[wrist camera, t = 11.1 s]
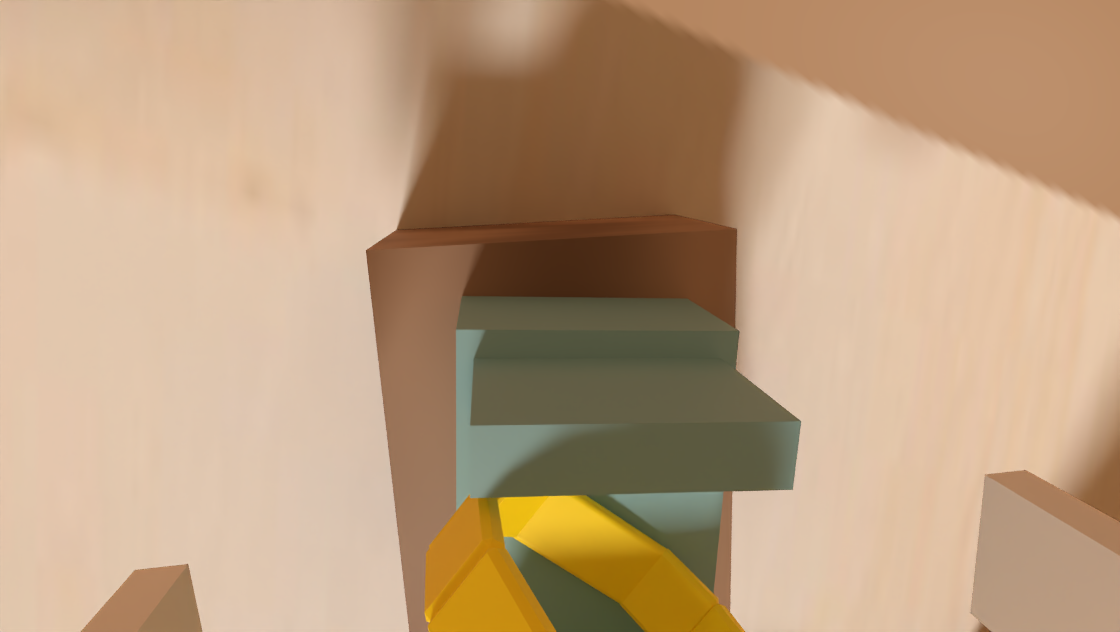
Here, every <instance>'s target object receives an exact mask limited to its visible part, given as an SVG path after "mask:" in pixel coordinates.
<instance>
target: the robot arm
mask: <svg viewBox="0 0 1120 632" xmlns="http://www.w3.org/2000/svg"><path fill="white" fill-rule="evenodd" d="M971 614H972V615H973V616H974V617H976V618H977V619H978V620H979V621H980V622H981V623H982V624H983V625H984V626H986V627H987V628H988V629H989V630H990V631H991V632H1120V522H1119V521H1117V520H1116V519H1114V518H1112V517H1110V516H1108V515H1106V514H1105V513H1103V512H1101V511H1099V510H1097V509H1096V508H1094V507H1092V506H1090V505H1088V504H1086V503H1085V502H1083V501H1081V500H1079V499H1077V498H1075V497H1074V496H1072V495H1070V494H1068V493H1066V492H1065V491H1063V490H1061V489H1059V488H1057V487H1055V486H1054V485H1052V484H1050V483H1048V482H1046V481H1044V480H1043V479H1041V478H1039V477H1037V476H1035V475H1034V474H1032V473H1030V472H1028V471H1026V470H1023V471H1014V472H1005V473H996V474H987V475H985V480H984V490H983V499H982V509H981V518H980V528H979V537H978V547H977V556H976V566H975V575H974V585H973V594H972V604H971ZM81 632H202V628H201V623H200V618H199V613H198V609H197V604H196V599H195V594H194V590H193V585H192V580H191V575H190V570H189V566H188V564H185V565H176V566H167V567H158V568H149V569H141V570H135V571H134V572H133V573H132V574H131V575H130V576H129V577H128V579H127V580H126V581H125V582H124V583H123V584H122V585H121V587H120V588H119V589H118V590H117V591H116V592H115V593H114V595H113V596H112V597H111V598H110V599H109V600H108V601H107V602H106V604H105V605H104V606H103V607H102V608H101V609H100V610H99V612H98V613H97V614H96V615H95V616H94V617H93V618H92V620H91V621H90V622H89V623H88V624H87V625H86V626H85V628H84V629H83V630H82V631H81Z"/></svg>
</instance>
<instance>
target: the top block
mask: <svg viewBox="0 0 1120 632" xmlns="http://www.w3.org/2000/svg"><path fill="white" fill-rule="evenodd" d="M738 339H739V331H738V330H737V329H735V328H734V327H732V326H730V325H729V324H727V323H726V322H724V321H722V320H721V319H719V318H718V317H716V316H714V315H713V314H711V313H710V312H708V311H706V310H705V309H703V308H702V307H700V306H698V305H697V304H695V303H694V302H692V301H690V300H689V299H681V298H591V297H502V296H462V298H461V304H460V310H459V315H458V321H457V327H456V511H457V510H458V508H459V507H460V506H461V505H462V503H463V502H464V501H465V499H466V498H467V497H468V496H469V494H470V498H498V497H535V496H573V495H586V496H588V497H589V498H591V499H592V500H594V501H595V502H597V503H598V504H600V505H601V506H603V507H604V508H606V509H607V510H609V511H610V512H612V513H613V514H615V515H617V516H618V517H620V518H621V519H623V520H624V521H626V522H627V523H629V524H630V525H632V526H633V527H635V528H636V529H638V530H639V531H641V532H642V533H644V534H645V535H647V536H648V537H650V538H651V539H653V540H654V541H656V542H657V543H659V544H660V545H662V546H663V547H665V548H666V549H669V550H670V551H671V552H672V553H673V554H674V555H675V556H676V557H677V558H678V559H679V560H680V561H681V562H682V563H683V564H684V565H685V566H686V567H687V568H688V569H689V570H690V571H691V572H692V573H693V574H694V575H695V576H696V577H697V578H698V579H699V580H700V581H701V582H702V583H703V584H704V585H705V586H706V587H707V588H708V589H709V590H710V591H711V592H712V593H713V594H714V584H715V574H716V564H717V553H718V543H719V533H720V523H721V513H722V502H723V492H724V491H761V490H793V483H794V475H795V467H796V459H797V450H798V442H799V434H800V426H801V421H800V420H799V419H797V418H796V417H795V416H794V415H792V414H791V413H790V412H789V411H787V410H786V409H785V408H783V407H782V406H781V405H780V404H778V403H777V402H776V401H775V400H773V399H772V398H771V397H770V396H768V395H767V394H766V393H764V392H763V391H762V390H761V389H759V388H758V387H757V386H756V385H754V384H753V383H752V382H750V381H749V380H748V379H747V378H745V377H744V376H743V375H742V374H740V373H739V372H738V371H737V370H736V359H737V349H738ZM504 543H505V549H507V551H508V552H509V554H510V556H511V557H512V559H513V561H514V562H515V564H516V566H517V567H518V569H519V571H520V572H521V574H522V575H523V577H524V579H525V580H526V582H527V584H528V585H529V587H530V589H531V590H532V592H533V594H534V595H535V597H536V599H537V600H538V602H539V604H540V605H541V607H542V608H543V610H544V612H545V613H546V615H547V617H548V618H549V620H550V622H551V623H552V625H553V627H554V628H555V630H556V632H644V631H643V630H642V628H641V627H640V626H639V625H638V624H637V623H636V622H635V621H634V620H633V619H632V617H631V616H630V615H629V614H628V613H627V612H626V611H625V610H624V609H623V608H622V606H621V605H620V604H619V603H618V602H616V601H615V600H613V599H611V598H610V597H608V596H606V595H605V594H603V593H602V592H600V591H598V590H597V589H595V588H594V587H592V586H590V585H589V584H587V583H585V582H584V581H582V580H581V579H579V578H577V577H576V576H574V575H573V574H571V573H569V572H568V571H566V570H564V569H563V568H561V567H560V566H558V565H556V564H555V563H553V562H552V561H550V560H548V559H547V558H545V557H544V556H542V555H540V554H539V553H537V552H535V551H534V550H532V549H531V548H529V547H527V546H526V545H524V544H523V543H521V542H519V541H518V540H516V539H514V538H513V537H504Z"/></svg>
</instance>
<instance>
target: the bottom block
mask: <svg viewBox="0 0 1120 632" xmlns="http://www.w3.org/2000/svg"><path fill="white" fill-rule="evenodd" d="M736 245H737V229H735V228H730V227H726V226H722V225H717V224H713V223H708V222H704V221H700V220H695V219H691V218H687V217H682V216H678V215H661V216H643V217H625V218H607V219H588V220H570V221H552V222H534V223H515V224H497V225H479V226H461V227H442V228H424V229H406V230H396V231H394V232H393V233H391V234H390V235H388V236H387V237H385V238H384V239H382V240H381V241H379V242H378V243H376V244H375V245H373V246H372V247H370V248H369V249H367V250H366V255H367V264H368V273H369V281H370V290H371V299H372V308H373V316H374V325H375V334H376V343H377V351H378V360H379V369H380V378H381V386H382V395H383V404H384V413H385V421H386V430H387V439H388V448H389V456H390V465H391V474H392V483H393V492H394V500H395V509H396V518H397V527H398V535H399V544H400V553H401V562H402V570H403V579H404V588H405V597H406V605H407V614H408V623H409V632H429V631H428V624H429V622H427V621H426V617H425V613H424V612H425V573H426V552H427V551H428V550H429V545H430V544H431V543H432V541H433V540H434V539H435V538H436V536H437V535H438V534H439V532H440V531H441V530H442V529H443V527H444V526H445V525H446V524H447V522H448V521H449V520H450V518H451V517H452V516H453V515H454V513H455V512H456V327H457V321H458V315H459V310H460V304H461V298H462V296H502V297H591V298H681V299H689V300H690V301H692V302H694V303H695V304H697V305H698V306H700V307H702V308H703V309H705V310H706V311H708V312H710V313H711V314H713V315H714V316H716V317H718V318H719V319H721V320H722V321H724V322H726V323H727V324H729V325H730V326H732V327H734V328H735V302H736ZM731 528H732V491H724V492H723V502H722V513H721V523H720V533H719V543H718V553H717V564H716V574H715V584H714V595H715V596H716V597H717V598H718V600H719V604H721V605H723V606H726V608H727V609H728V610H729V612H730V584H731Z"/></svg>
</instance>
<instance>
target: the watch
mask: <svg viewBox="0 0 1120 632" xmlns="http://www.w3.org/2000/svg"><path fill="white" fill-rule="evenodd" d="M504 537H513V538H514V539H516V540H518V541H519V542H521V543H523V544H524V545H526V546H527V547H529V548H531V549H532V550H534V551H535V552H537V553H539V554H540V555H542V556H544V557H545V558H547V559H548V560H550V561H552V562H553V563H555V564H556V565H558V566H560V567H561V568H563V569H564V570H566V571H568V572H569V573H571V574H573V575H574V576H576V577H577V578H579V579H581V580H582V581H584V582H585V583H587V584H589V585H590V586H592V587H594V588H595V589H597V590H598V591H600V592H602V593H603V594H605V595H606V596H608V597H610V598H611V599H613V600H615V601H616V602H618V603H619V604H620V605H621V606H622V608H623V609H624V610H625V611H626V612H627V613H628V614H629V615H630V616H631V617H632V619H633V620H634V621H635V622H636V623H637V624H638V625H639V626H640V627H641V628H642V630H643V631H644V632H745V631H744V629H743V628H742V627H741V626H740V624H739V623H738V622H737V621H736V619H735V618H734V617H733V615H732V614H731V613H730V612H729V610H728V609H727V608H726V606H723V605H721V604H719V600H718V598H717V597H716V596H715V595H714V594H713V593H712V592H711V591H710V590H709V589H708V588H707V587H706V586H705V585H704V584H703V583H702V582H701V581H700V580H699V579H698V578H697V577H696V576H695V575H694V574H693V573H692V572H691V571H690V570H689V569H688V568H687V567H686V566H685V565H684V564H683V563H682V562H681V561H680V560H679V559H678V558H677V557H676V556H675V555H674V554H673V553H672V552H671V551H670V550H669V549H666V548H665V547H663V546H662V545H660V544H659V543H657V542H656V541H654V540H653V539H651V538H650V537H648V536H647V535H645V534H644V533H642V532H641V531H639V530H638V529H636V528H635V527H633V526H632V525H630V524H629V523H627V522H626V521H624V520H623V519H621V518H620V517H618V516H617V515H615V514H613V513H612V512H610V511H609V510H607V509H606V508H604V507H603V506H601V505H600V504H598V503H597V502H595V501H594V500H592V499H591V498H589V497H588V496H586V495H573V496H535V497H498V498H470V494H469V496H468V497H467V498H466V499H465V501H464V502H463V503H462V505H461V506H460V507H459V508H458V510H457V511H456V512H455V513H454V515H453V516H452V517H451V518H450V520H449V521H448V522H447V524H446V525H445V526H444V527H443V529H442V530H441V531H440V532H439V534H438V535H437V536H436V538H435V539H434V540H433V541H432V543H431V544H430V545H429V550H428V551H427V552H426V573H425V612H424V613H425V617H426V621H427V622H429V624H428V631H429V632H556V630H555V628H554V627H553V625H552V623H551V622H550V620H549V618H548V617H547V615H546V613H545V612H544V610H543V608H542V607H541V605H540V604H539V602H538V600H537V599H536V597H535V595H534V594H533V592H532V590H531V589H530V587H529V585H528V584H527V582H526V580H525V579H524V577H523V575H522V574H521V572H520V571H519V569H518V567H517V566H516V564H515V562H514V561H513V559H512V557H511V556H510V554H509V552H508V551H507V549H505V543H504Z"/></svg>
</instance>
